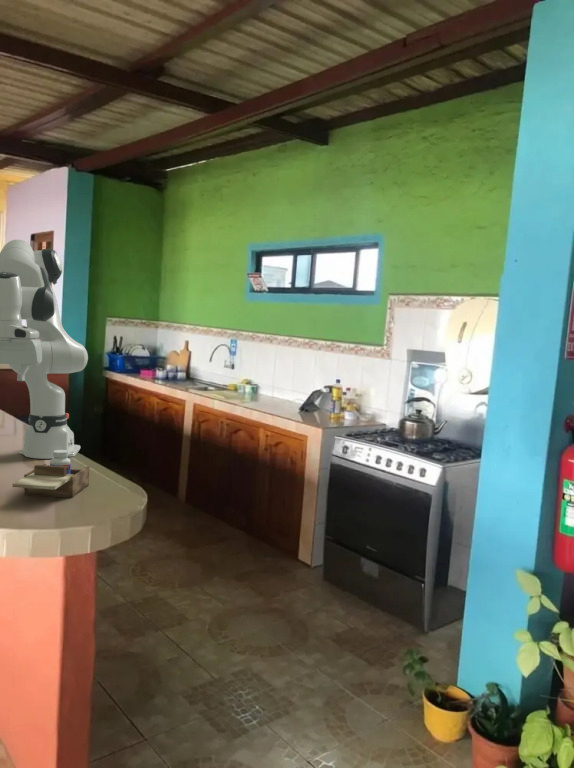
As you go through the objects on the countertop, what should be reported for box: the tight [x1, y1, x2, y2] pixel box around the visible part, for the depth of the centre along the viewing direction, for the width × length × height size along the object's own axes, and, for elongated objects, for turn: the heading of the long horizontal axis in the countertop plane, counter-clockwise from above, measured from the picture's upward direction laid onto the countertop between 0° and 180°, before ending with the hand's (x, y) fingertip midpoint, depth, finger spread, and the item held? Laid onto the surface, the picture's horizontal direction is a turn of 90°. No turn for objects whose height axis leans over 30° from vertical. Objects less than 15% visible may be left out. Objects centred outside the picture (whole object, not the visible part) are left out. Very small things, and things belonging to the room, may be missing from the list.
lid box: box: [23, 463, 90, 499], centre depth 175 cm, size 13×13×6 cm
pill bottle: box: [49, 450, 72, 474], centre depth 176 cm, size 6×5×10 cm
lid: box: [11, 464, 74, 490], centre depth 165 cm, size 13×11×3 cm
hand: (4, 379), depth 179 cm, fingers open, 8 cm apart
